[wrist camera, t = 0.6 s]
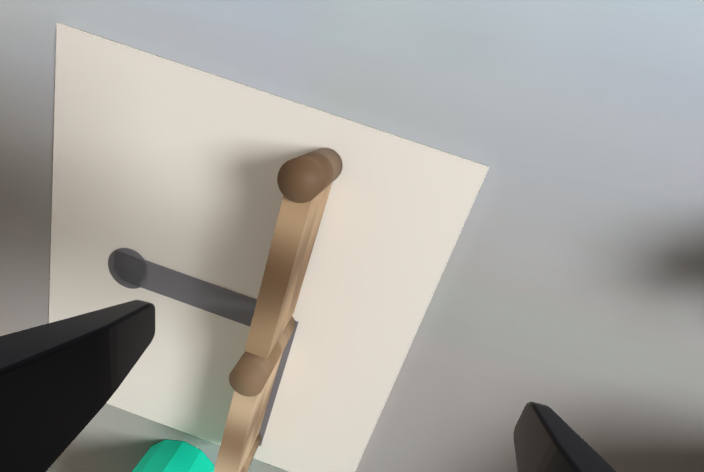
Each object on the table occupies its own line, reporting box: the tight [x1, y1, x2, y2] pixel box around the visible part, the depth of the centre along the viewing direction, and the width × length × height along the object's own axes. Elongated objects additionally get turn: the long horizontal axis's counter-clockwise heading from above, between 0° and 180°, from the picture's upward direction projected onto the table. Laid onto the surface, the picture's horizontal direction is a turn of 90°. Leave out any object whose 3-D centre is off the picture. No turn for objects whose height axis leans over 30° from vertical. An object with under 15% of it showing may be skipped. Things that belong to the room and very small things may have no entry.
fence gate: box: [244, 148, 343, 359], centre depth 19 cm, size 10×2×5 cm, turn 163°
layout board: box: [49, 23, 489, 472], centre depth 24 cm, size 25×24×1 cm
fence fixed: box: [214, 316, 295, 472], centre depth 23 cm, size 12×2×6 cm, turn 163°
